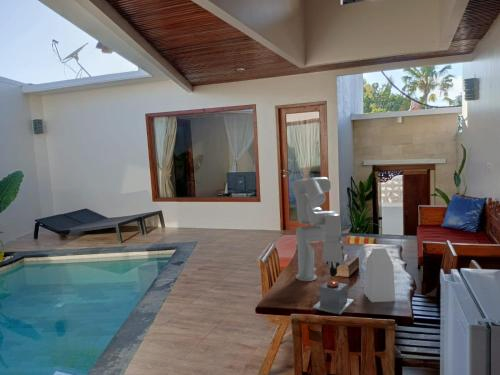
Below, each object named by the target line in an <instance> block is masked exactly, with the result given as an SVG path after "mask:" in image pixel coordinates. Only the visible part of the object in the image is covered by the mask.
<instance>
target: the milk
mask: <svg viewBox="0 0 500 375" xmlns="http://www.w3.org/2000/svg"><path fill="white" fill-rule="evenodd" d="M394 268H395V267H394V263H393V261H392V259H391V256H390V254H389V253H388V251H387V249H386V248H385V247H373V248H372V250H371V252H370V254H369V256H368V257H367V258H366V260H365V273H364V274H365V275H364V288H363V289H364V291H363V293H364V295H365V296H366V298H367V297H368V298H367V299H368V300H369V301H370V302H371V303H382V302H384V303H385V302H396V294H395V293H396V292H395V272H394V270H395V269H394Z"/></svg>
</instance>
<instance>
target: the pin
mask: <svg viewBox="0 0 500 375" xmlns="http://www.w3.org/2000/svg"><path fill="white" fill-rule="evenodd" d="M327 281H328V282H327ZM327 281H326V282H327V286H328V287H334V288H336V287H338V286H339V283H340V282H339V281H337V280H327Z"/></svg>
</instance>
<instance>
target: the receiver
mask: <svg viewBox="0 0 500 375" xmlns="http://www.w3.org/2000/svg"><path fill="white" fill-rule="evenodd" d="M328 281H329V280H327V281H325V283H323V284H322V285H320V286H319V301H318V302H317V303H315V304H314V305H313V306H312V309H314V310H319V311H324V312H327V313H331V314H335V315H336V314H337V315H340V316H341V315H342V314H343V313H344V312H345V311H346V310H347V309H348V308H349V307H350V306H352V305H353V303H354V302H355V300H354V299H353V298H348V284H347V283H342V282H339V286H338V287H336V288H334V287H328V286H327V282H328Z"/></svg>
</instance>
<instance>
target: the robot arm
mask: <svg viewBox="0 0 500 375" xmlns="http://www.w3.org/2000/svg"><path fill="white" fill-rule="evenodd" d="M331 184H332V183H331V180H330V179H329V178H328V177H326V176H317V177H315V176H314V177H308V178H300V179H296V180H294V181H293V182H292V193H293V195H294V197H295V202H296V214H297V221H298V223H299V224H301V225H302V224H304V226H299V227H298V228H296V231H295V235H296V236H295V237H296V242H297V265H298V268H297V270H298V271H297V272H298V273H297V274H296V275H295V278H296V280H298V281H301V282H312V281H316V280H317V279H318V276H317V274H315V272H316V271H317V268H316V267H315V250H314V249H315V248H314V247H313V245H311V243H314V242H315V243H316V242H322V241H323V244H322V255H321V256H322V263H325V264H326V265H327V266H328V268H329V273H330V276H331V277H335V276H337V274H338V267H339V266H343V265H345V262H344V261H345V260H346V257H345V256H346V254H345V248H344V242H343V241H344V237H342V234H341V233H342V232H341V229H342V227H341V225H342V224H341V223H342V222H341V215H340V214H339V213H337V212H336V211H335V210H323V208H321V205H323V204H324V203H325V202H326V200H327V195H326V193H328V192H330V190H331V189H332V186H331ZM319 206H320V207H319ZM305 224H307V225H305ZM308 224H310V225H308Z"/></svg>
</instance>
